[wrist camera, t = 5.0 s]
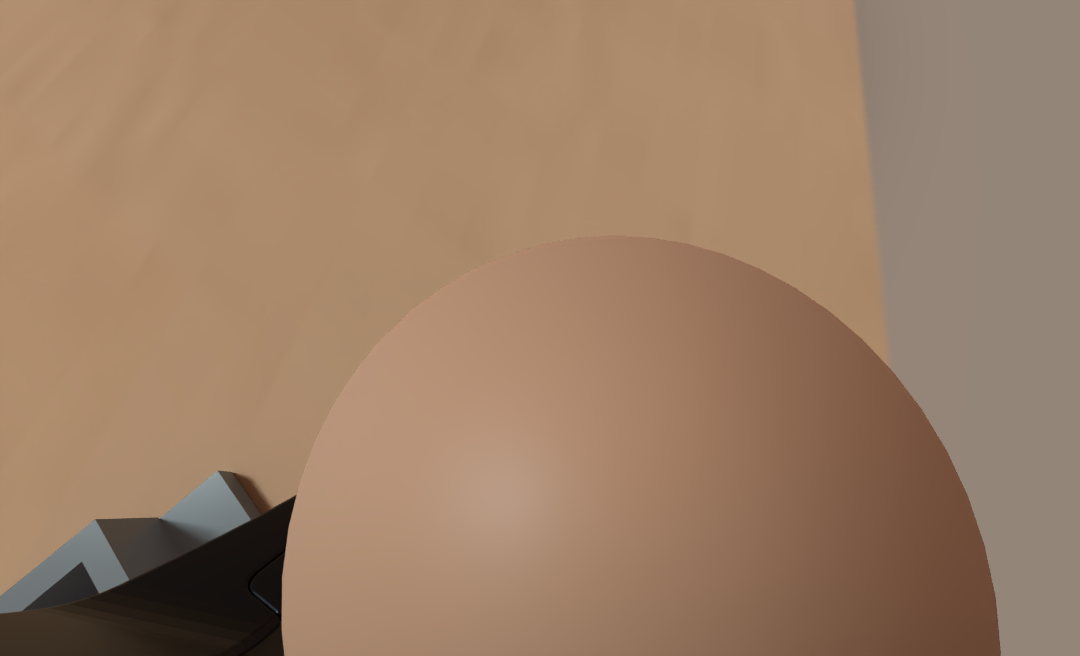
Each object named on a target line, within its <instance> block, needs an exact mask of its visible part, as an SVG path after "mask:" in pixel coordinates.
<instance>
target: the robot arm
mask: <svg viewBox="0 0 1080 656" xmlns="http://www.w3.org/2000/svg"><path fill="white" fill-rule="evenodd" d="M296 496H297V495H295V496H293V497H292V498H290V499H288V500H286V501H285V502H283V503H281V504H279V505H277V506H276V507H274V508H272V509H270V510H268V511H267V512H265V513H263V514H261V515H260V516H258V517H256V518H254V519H252V520H250V521H248V522H246V523H244V524H242V525H240V526H238V527H236V528H234V529H232V530H230V531H228V532H226V533H224V534H222V535H220V536H218V537H216V538H214V539H212V540H210V541H208V542H206V543H204V544H202V545H200V546H198V547H196V548H194V549H192V550H190V551H188V552H186V553H184V554H182V555H179V556H177V557H175V558H173V559H171V560H169V561H167V562H165V563H163V564H161V565H159V566H157V567H155V568H153V569H151V570H149V571H147V572H145V573H143V574H141V575H139V576H136V577H134V578H132V579H130V580H128V581H126V582H124V583H122V584H120V585H118V586H115V587H113V588H111V589H109V590H106V591H104V592H101V593H99V594H96V595H93V596H91V597H88V598H85V599H82V600H78V601H75V602H71V603H68V604H64V605H59V606H54V607H49V608H43V609H36V610H28V611H18V612H9V613H0V656H284V647H283V637H282V575H283V567H284V559H285V551H286V544H287V536H288V528H289V524H290V520H291V516H292V512H293V508H294V504H295V500H296Z"/></svg>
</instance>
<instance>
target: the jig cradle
mask: <svg viewBox="0 0 1080 656" xmlns="http://www.w3.org/2000/svg"><path fill="white" fill-rule="evenodd" d="M260 515H261V514H260V512H259V511H258V509H257V508H256V506H255V505H254V503H253V502H252V501H251V499H250V498H249V496H248V495H247V493H246V492H245V490H244V489H243V488H242V486H241V485H240V483H239V482H238V480H237V479H236V477H235V476H234V474H233V473H232V472H226V471H216V472H215V473H214V474H213V475H212V476H211V477H209V478H208V479H207V480H206V481H205V482H203V483H202V484H201V485H200V486H199V487H197V488H196V489H195V490H194V491H193V492H191V493H190V494H189V495H188V496H187V497H185V498H184V499H183V500H182V501H181V502H179V503H178V504H177V505H176V506H175V507H173V508H172V509H171V510H170V511H169V512H167V513H166V514H165V515H164V516H163V517H161V518H160V519H159V518H126V519H95V520H94V521H93V522H91V523H90V524H89V525H88V526H86V527H85V528H84V529H83V530H81V531H80V532H79V533H78V534H77V535H75V536H74V537H73V538H72V539H70V540H69V541H68V542H67V543H65V544H64V545H63V546H62V547H60V548H59V549H58V550H57V551H56V552H54V553H53V554H52V555H51V556H49V557H48V558H47V559H46V560H44V561H43V562H42V563H41V564H40V565H38V566H37V567H36V568H35V569H33V570H32V571H31V572H30V573H28V574H27V575H26V576H25V577H23V578H22V579H21V580H20V581H19V582H17V583H16V584H15V585H14V586H12V587H11V588H10V589H9V590H7V591H6V592H5V593H4V594H2V595H1V596H0V613H9V612H18V611H28V610H36V609H43V608H49V607H54V606H59V605H64V604H68V603H71V602H75V601H78V600H82V599H85V598H88V597H91V596H93V595H96V594H99V593H101V592H104V591H106V590H109V589H111V588H113V587H115V586H118V585H120V584H122V583H124V582H126V581H128V580H130V579H132V578H134V577H136V576H139V575H141V574H143V573H145V572H147V571H149V570H151V569H153V568H155V567H157V566H159V565H161V564H163V563H165V562H167V561H169V560H171V559H173V558H175V557H177V556H179V555H182V554H184V553H186V552H188V551H190V550H192V549H194V548H196V547H198V546H200V545H202V544H204V543H206V542H208V541H210V540H212V539H214V538H216V537H218V536H220V535H222V534H224V533H226V532H228V531H230V530H232V529H234V528H236V527H238V526H240V525H242V524H244V523H246V522H248V521H250V520H252V519H254V518H256V517H258V516H260Z"/></svg>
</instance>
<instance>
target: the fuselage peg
mask: <svg viewBox="0 0 1080 656" xmlns="http://www.w3.org/2000/svg"><path fill="white" fill-rule="evenodd" d="M282 637H283V647H284V656H1000V654H1001V651H1000V641H999V630H998V619H997V609H996V598H995V593H994V588H993V583H992V579H991V574H990V570H989V565H988V560H987V556H986V551H985V546H984V543H983V540H982V537H981V534H980V531H979V528H978V525H977V522H976V519H975V517H974V513H973V511H972V507H971V504H970V501H969V499H968V496H967V493H966V491H965V489H964V487H963V485H962V483H961V481H960V478H959V476H958V474H957V472H956V470H955V468H954V466H953V463H952V461H951V459H950V457H949V455H948V453H947V451H946V449H945V447H944V446H943V444H942V442H941V441H940V439H939V437H938V436H937V434H936V432H935V431H934V429H933V427H932V426H931V424H930V423H929V421H928V419H927V418H926V416H925V414H924V413H923V411H922V409H921V408H920V407H919V405H918V404H917V403H916V401H915V400H914V399H913V398H912V396H911V395H910V393H909V392H908V391H907V390H906V389H905V387H904V386H903V385H902V383H901V382H900V380H899V379H898V378H897V377H896V375H895V374H894V373H893V371H892V370H891V369H890V368H889V367H888V366H887V365H886V364H885V363H884V362H883V361H882V360H881V359H880V358H879V357H878V356H877V354H876V353H875V352H874V351H873V350H872V349H871V348H870V347H869V346H868V345H867V344H866V343H865V342H864V341H863V340H862V339H861V338H860V337H859V336H858V335H856V334H855V333H854V332H853V331H852V330H851V329H849V328H848V327H847V326H846V325H845V324H844V323H842V322H841V321H840V320H839V319H838V318H837V317H835V316H834V315H833V314H832V313H831V312H829V311H828V310H827V309H825V308H824V307H822V306H821V305H819V304H818V303H816V302H815V301H813V300H812V299H811V298H809V297H808V296H806V295H805V294H803V293H802V292H800V291H799V290H797V289H796V288H794V287H792V286H791V285H789V284H787V283H785V282H783V281H781V280H779V279H778V278H776V277H774V276H772V275H770V274H768V273H766V272H765V271H763V270H761V269H759V268H756V267H754V266H751V265H749V264H746V263H744V262H741V261H739V260H736V259H734V258H732V257H729V256H727V255H724V254H721V253H717V252H714V251H710V250H707V249H703V248H700V247H696V246H693V245H689V244H684V243H678V242H673V241H667V240H661V239H655V238H644V237H626V236H603V237H586V238H575V239H569V240H564V241H558V242H552V243H547V244H542V245H538V246H535V247H532V248H528V249H525V250H521V251H518V252H515V253H511V254H508V255H506V256H503V257H501V258H499V259H496V260H494V261H492V262H489V263H487V264H485V265H482V266H480V267H478V268H475V269H473V270H472V271H470V272H468V273H466V274H465V275H463V276H461V277H459V278H458V279H456V280H454V281H452V282H451V283H449V284H447V285H446V286H444V287H442V288H441V289H439V290H438V291H437V292H435V293H434V294H433V295H431V296H430V297H429V298H427V299H426V300H425V301H423V302H422V303H421V304H419V305H418V306H417V307H415V308H414V309H412V310H411V311H410V312H409V313H408V314H407V315H406V316H405V317H404V318H403V319H402V320H401V321H400V322H399V323H398V324H396V325H395V326H394V327H393V328H392V329H391V330H390V331H389V332H388V333H387V334H386V335H385V336H384V337H383V338H382V339H381V340H380V342H379V343H378V344H377V345H376V346H375V347H374V349H373V350H372V351H371V352H370V353H369V355H368V356H367V357H366V358H365V359H364V360H363V362H362V363H361V364H360V365H359V366H358V368H357V369H356V371H355V372H354V374H353V375H352V377H351V378H350V380H349V381H348V383H347V384H346V386H345V387H344V389H343V390H342V392H341V393H340V395H339V396H338V398H337V399H336V401H335V403H334V405H333V407H332V409H331V411H330V413H329V415H328V417H327V419H326V421H325V422H324V424H323V426H322V428H321V430H320V432H319V434H318V436H317V438H316V440H315V443H314V446H313V448H312V451H311V454H310V456H309V459H308V462H307V464H306V467H305V470H304V472H303V475H302V478H301V480H300V484H299V488H298V492H297V496H296V500H295V504H294V508H293V512H292V516H291V520H290V524H289V528H288V536H287V544H286V551H285V559H284V567H283V575H282Z"/></svg>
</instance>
